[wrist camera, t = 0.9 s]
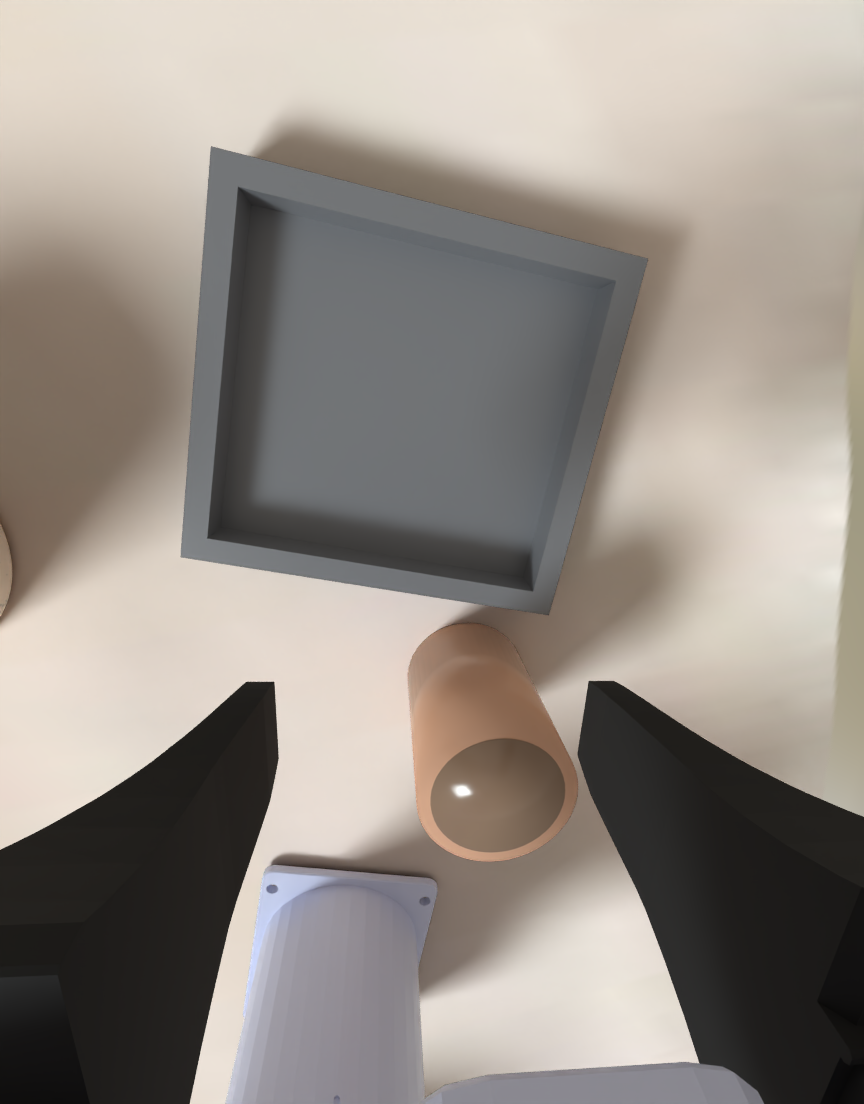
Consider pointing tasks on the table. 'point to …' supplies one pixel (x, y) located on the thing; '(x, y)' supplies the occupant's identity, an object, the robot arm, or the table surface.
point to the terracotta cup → (484, 748)
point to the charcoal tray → (394, 387)
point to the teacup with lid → (4, 571)
